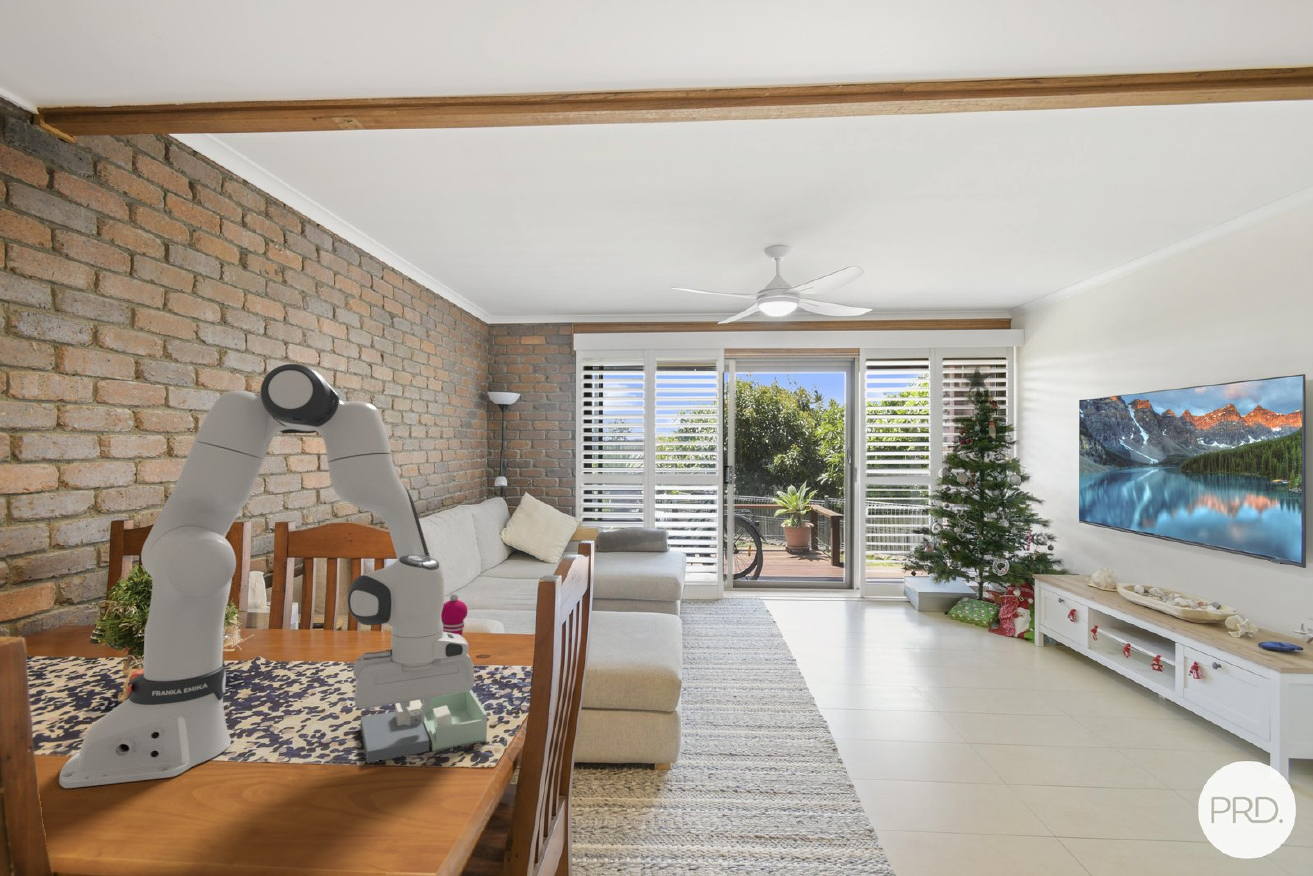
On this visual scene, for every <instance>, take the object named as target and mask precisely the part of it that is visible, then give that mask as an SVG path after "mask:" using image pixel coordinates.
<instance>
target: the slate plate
mask: <svg viewBox="0 0 1313 876" xmlns="http://www.w3.org/2000/svg"><path fill="white" fill-rule="evenodd" d="M360 732H362V733H361V737H363V738H362V744H363V748H364V753H365V758H366V762H367V764H372V763H376V762H375V761H377V760H382V761H387V760H391V759H397V758H396V757H398V758H402V757H401V756H403V757H407V756H406V755H408V756H413V755H417V753H418V754H422V752H423V753H427V752H426V751H428V752H430V744H429V738H428V735H427V733H426V730H425V728H424V725H423V723H419V724H413V725H408V726H407V724H405V725H399V726H398V725H397V722H396V718H395V711H390V712H385V713H384V712H383V713H377V714H371V715H370V714H369V715H364V716H361V717H360ZM371 762H372V763H371ZM377 762H378V761H377Z"/></svg>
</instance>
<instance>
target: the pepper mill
mask: <svg viewBox="0 0 1313 876" xmlns="http://www.w3.org/2000/svg"><path fill="white" fill-rule="evenodd" d="M449 599H450V600H448V601H446V602H444V606H443V609H442V613H441V619H442V620H443V621H444V622H442V623H443V630H444V632H448V633H454V634H459V635H461V636H462V637H463V630H464V629H465V627H466V626H465V623H466V621H464V620H465V619H466V617H467V616H468V607H467V605H466V603H465V602H463V601H462V600H459V594H457V593H452V594H451V595H450V597H449Z"/></svg>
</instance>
